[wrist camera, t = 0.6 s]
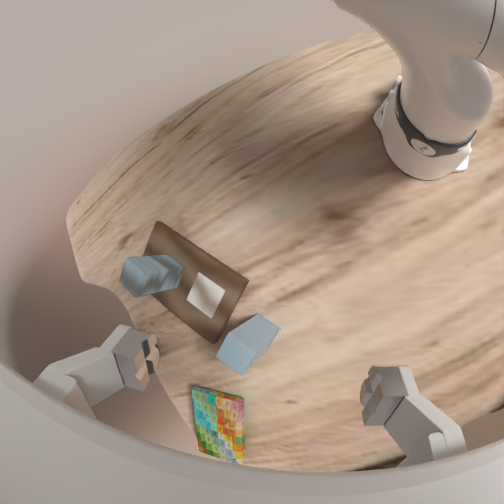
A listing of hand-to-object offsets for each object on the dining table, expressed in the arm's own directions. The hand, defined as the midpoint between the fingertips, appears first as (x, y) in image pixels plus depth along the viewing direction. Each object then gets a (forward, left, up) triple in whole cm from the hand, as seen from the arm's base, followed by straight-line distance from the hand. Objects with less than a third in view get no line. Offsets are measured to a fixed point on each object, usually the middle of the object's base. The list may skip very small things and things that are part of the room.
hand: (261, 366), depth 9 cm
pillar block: (+17, -6, -38) cm, 42 cm away
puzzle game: (+44, -2, -38) cm, 58 cm away
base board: (+18, -25, -38) cm, 49 cm away
